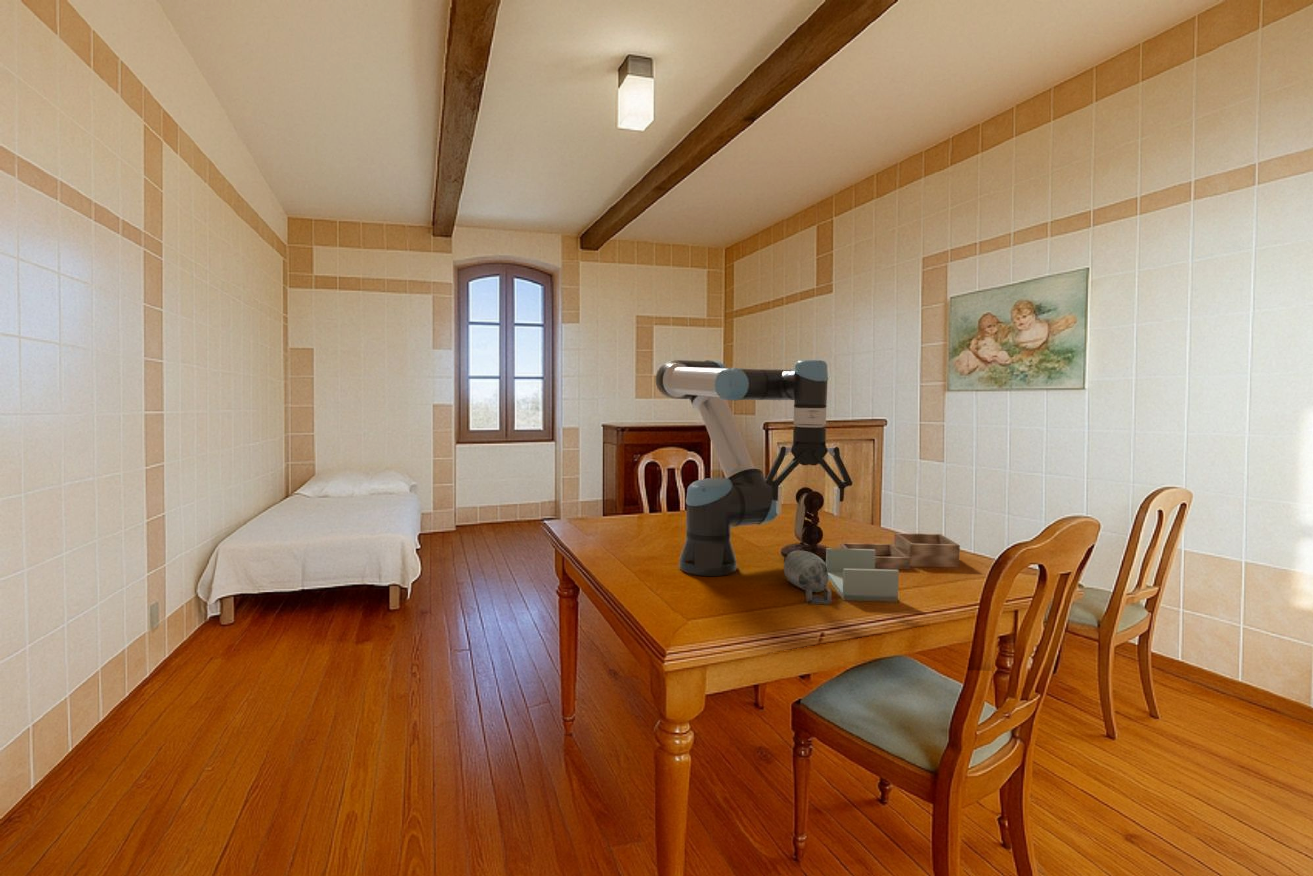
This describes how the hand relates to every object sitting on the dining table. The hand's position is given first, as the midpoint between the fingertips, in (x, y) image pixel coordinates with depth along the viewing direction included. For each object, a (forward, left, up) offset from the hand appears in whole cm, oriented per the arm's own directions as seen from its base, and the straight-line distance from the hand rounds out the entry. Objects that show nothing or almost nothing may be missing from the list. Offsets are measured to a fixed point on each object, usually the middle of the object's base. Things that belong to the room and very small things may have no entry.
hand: (807, 514), depth 151 cm
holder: (+13, 0, -18) cm, 22 cm away
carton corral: (+38, +26, -18) cm, 49 cm away
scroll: (+5, +23, -18) cm, 30 cm away
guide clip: (+1, -11, -18) cm, 21 cm away
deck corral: (+23, +24, -18) cm, 38 cm away
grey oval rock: (0, 0, -18) cm, 18 cm away
